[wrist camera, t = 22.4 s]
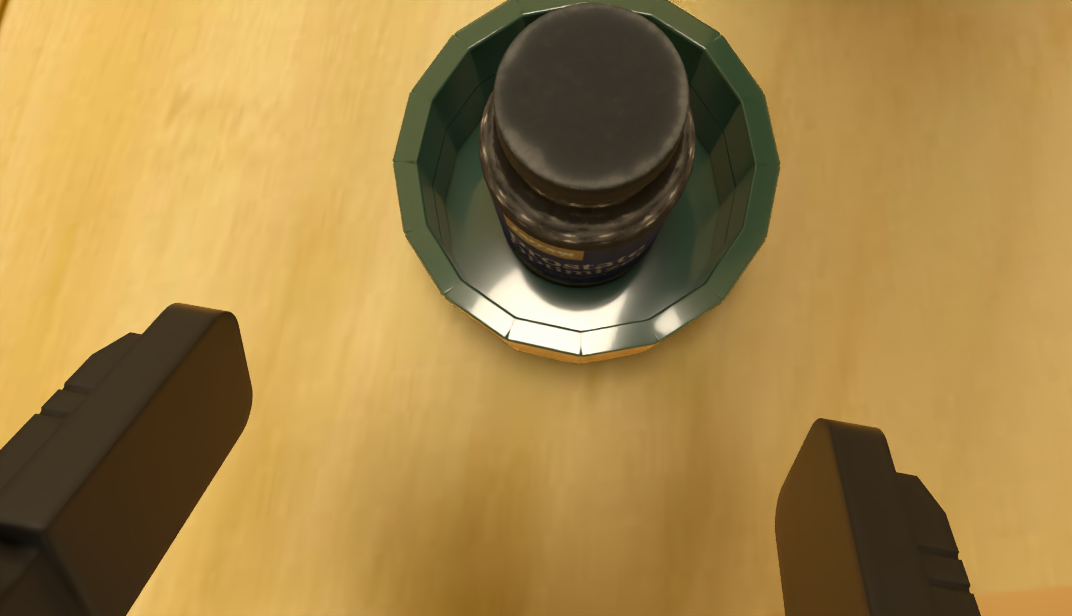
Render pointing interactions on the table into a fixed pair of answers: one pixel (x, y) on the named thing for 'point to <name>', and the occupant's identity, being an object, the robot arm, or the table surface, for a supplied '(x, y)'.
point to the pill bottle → (587, 141)
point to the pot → (675, 255)
